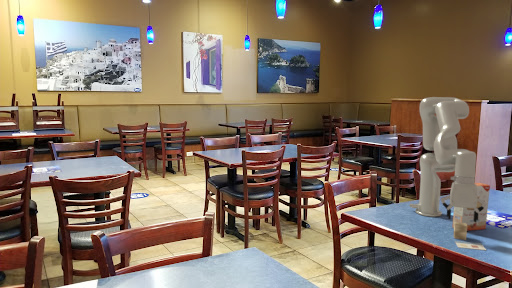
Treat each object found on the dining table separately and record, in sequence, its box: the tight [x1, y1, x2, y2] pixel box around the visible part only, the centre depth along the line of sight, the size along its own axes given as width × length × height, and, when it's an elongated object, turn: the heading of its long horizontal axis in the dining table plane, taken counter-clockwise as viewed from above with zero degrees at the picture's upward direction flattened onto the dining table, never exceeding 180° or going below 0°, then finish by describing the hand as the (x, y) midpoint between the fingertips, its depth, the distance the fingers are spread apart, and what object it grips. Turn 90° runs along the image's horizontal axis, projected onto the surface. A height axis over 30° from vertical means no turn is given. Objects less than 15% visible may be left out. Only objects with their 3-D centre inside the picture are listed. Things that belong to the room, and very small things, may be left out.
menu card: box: [454, 240, 487, 251], centre depth 156 cm, size 10×7×1 cm
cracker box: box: [451, 182, 491, 231], centre depth 176 cm, size 14×6×21 cm, turn 105°
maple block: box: [453, 222, 468, 241], centre depth 165 cm, size 4×4×6 cm
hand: (461, 219), depth 164 cm, fingers open, 9 cm apart
